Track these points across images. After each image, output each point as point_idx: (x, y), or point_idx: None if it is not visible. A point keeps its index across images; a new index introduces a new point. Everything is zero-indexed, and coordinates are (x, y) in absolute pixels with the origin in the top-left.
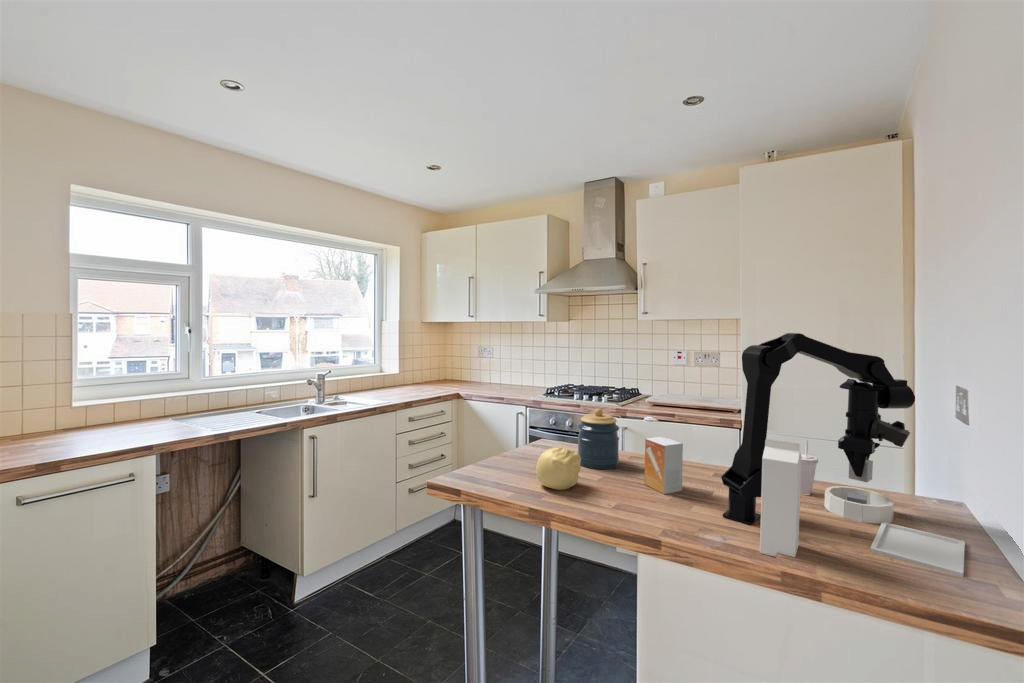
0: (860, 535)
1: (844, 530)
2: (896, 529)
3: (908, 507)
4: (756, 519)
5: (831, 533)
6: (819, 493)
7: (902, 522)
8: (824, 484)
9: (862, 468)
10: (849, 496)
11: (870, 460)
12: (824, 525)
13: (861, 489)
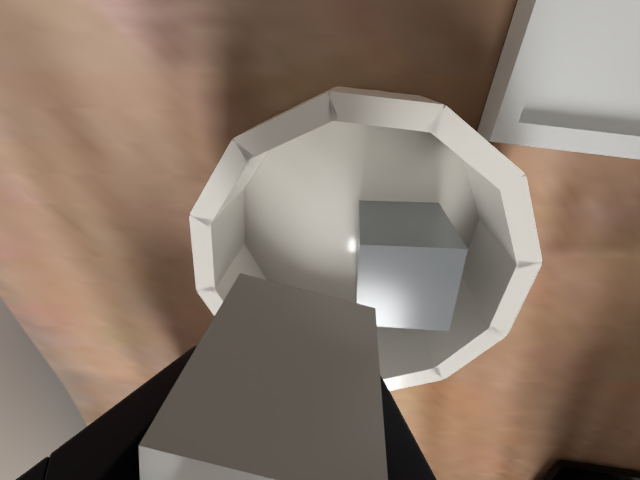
0: (615, 216)
1: (576, 267)
2: (537, 72)
3: (18, 5)
4: (613, 472)
5: (634, 304)
6: (171, 336)
7: (309, 39)
8: (42, 324)
9: (428, 466)
10: (435, 321)
11: (148, 464)
12: (548, 323)
13: (209, 262)
